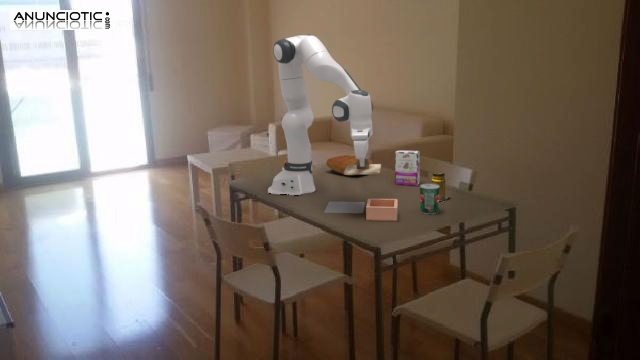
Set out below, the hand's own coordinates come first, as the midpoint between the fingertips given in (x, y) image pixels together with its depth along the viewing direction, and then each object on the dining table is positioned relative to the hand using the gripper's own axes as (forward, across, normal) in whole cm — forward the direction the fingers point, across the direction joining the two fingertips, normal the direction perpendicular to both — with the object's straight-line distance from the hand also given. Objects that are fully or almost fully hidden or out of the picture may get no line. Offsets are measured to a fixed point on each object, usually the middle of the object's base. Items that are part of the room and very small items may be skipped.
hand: (362, 165), depth 243 cm
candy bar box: (+21, -47, +17) cm, 54 cm away
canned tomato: (+22, -4, +26) cm, 34 cm away
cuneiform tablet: (+20, -69, -13) cm, 73 cm away
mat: (+20, -6, -9) cm, 23 cm away
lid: (+2, 0, 0) cm, 2 cm away
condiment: (+22, -23, +31) cm, 45 cm away
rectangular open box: (+21, +5, +7) cm, 22 cm away
